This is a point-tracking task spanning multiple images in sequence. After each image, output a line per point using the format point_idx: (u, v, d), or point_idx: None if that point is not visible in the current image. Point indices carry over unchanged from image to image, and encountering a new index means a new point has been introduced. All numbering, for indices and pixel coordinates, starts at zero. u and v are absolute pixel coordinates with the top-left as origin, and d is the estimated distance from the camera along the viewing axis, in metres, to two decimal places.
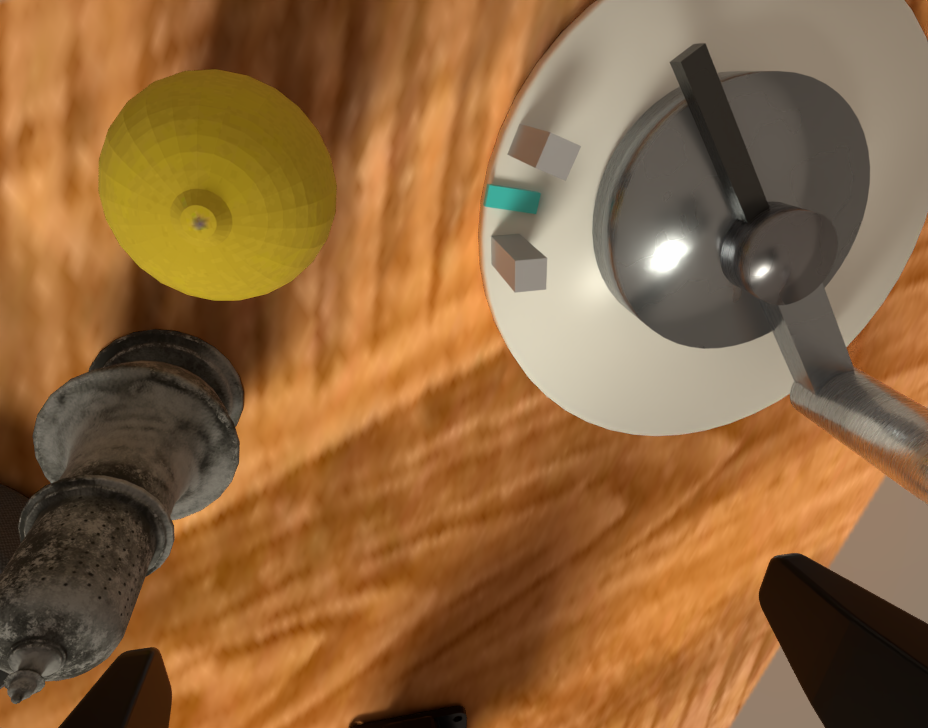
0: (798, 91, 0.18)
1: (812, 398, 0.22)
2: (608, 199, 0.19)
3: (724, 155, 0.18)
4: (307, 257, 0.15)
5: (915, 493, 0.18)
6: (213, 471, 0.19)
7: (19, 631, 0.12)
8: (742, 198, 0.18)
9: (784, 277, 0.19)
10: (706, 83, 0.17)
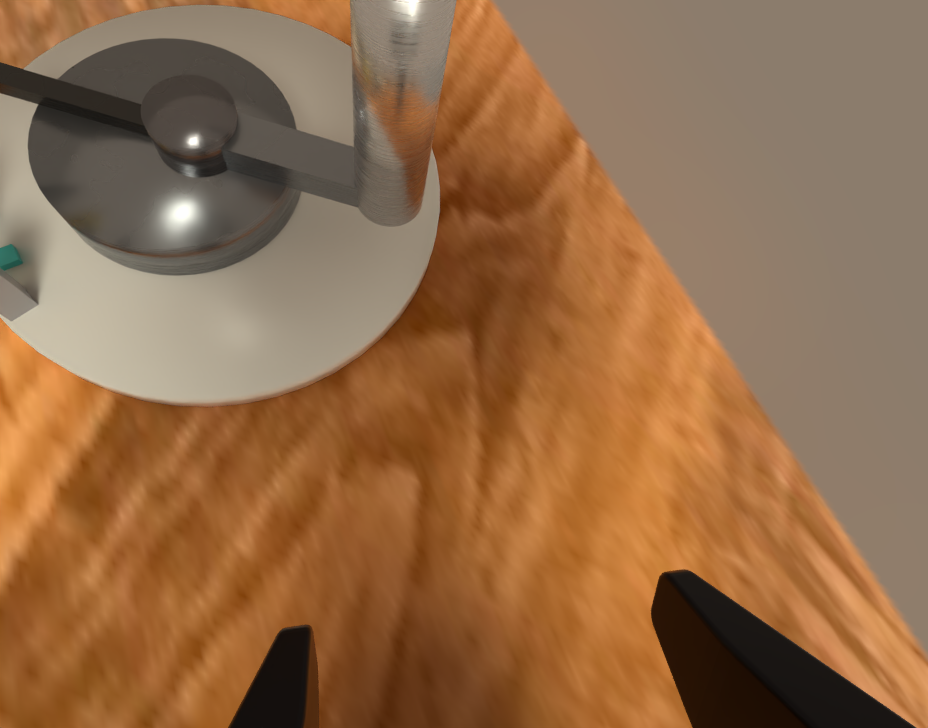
0: (124, 53, 0.22)
1: (359, 194, 0.21)
2: None
3: (82, 104, 0.20)
4: None
5: (386, 117, 0.16)
6: None
7: None
8: (127, 117, 0.21)
9: (193, 124, 0.20)
10: (21, 78, 0.20)
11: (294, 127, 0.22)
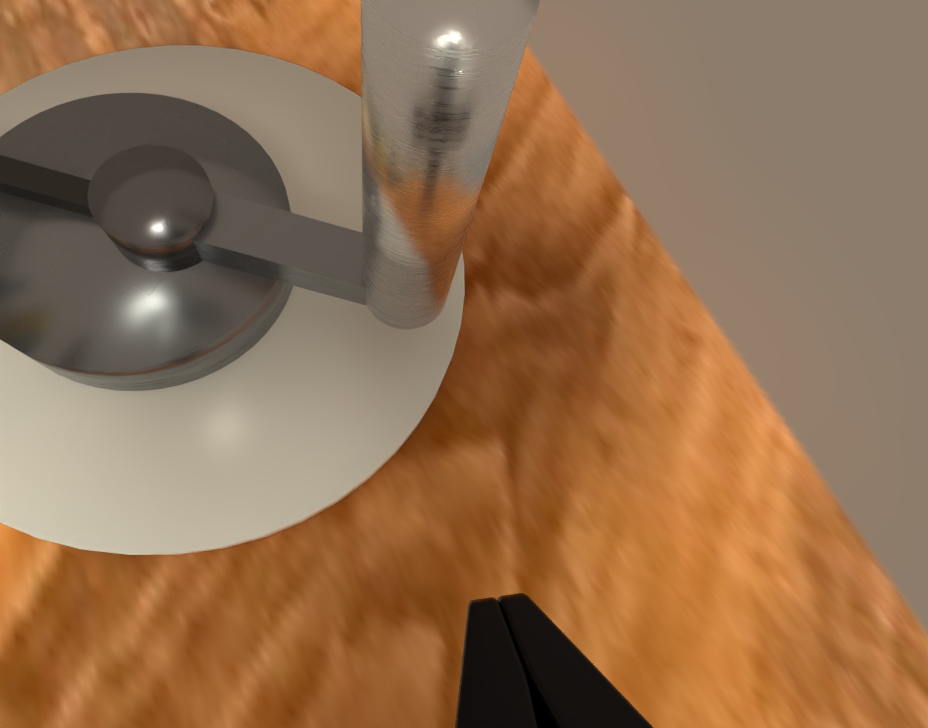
0: (74, 112, 0.18)
1: (369, 294, 0.16)
2: None
3: (15, 182, 0.16)
4: None
5: (408, 223, 0.12)
6: None
7: None
8: (73, 197, 0.16)
9: (156, 211, 0.15)
10: None
11: (286, 203, 0.18)
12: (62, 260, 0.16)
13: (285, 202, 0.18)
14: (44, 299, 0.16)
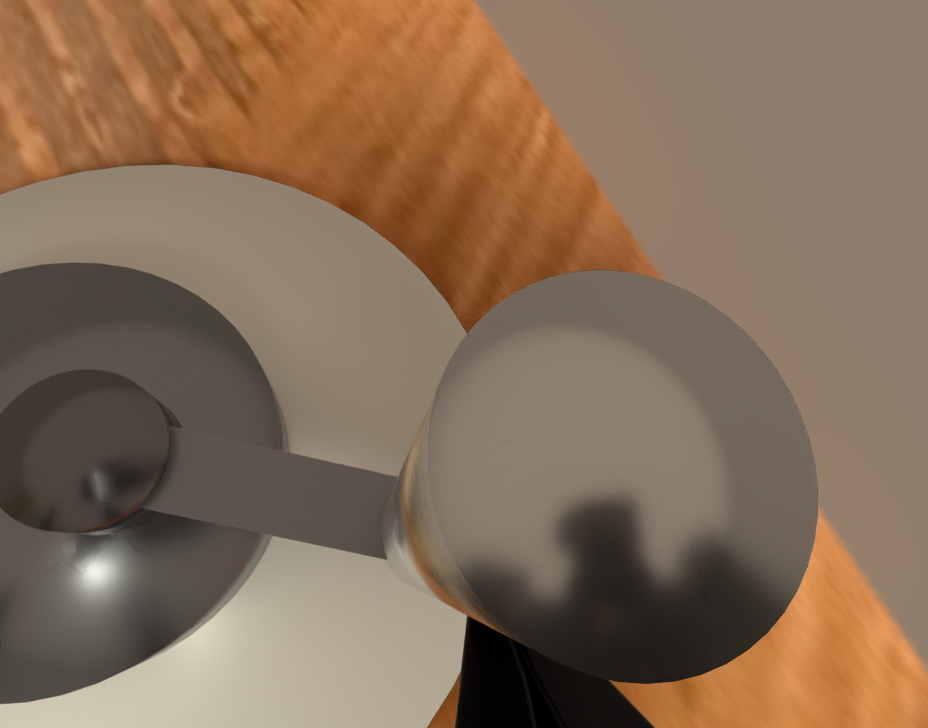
0: None
1: (391, 567, 0.12)
2: None
3: None
4: None
5: None
6: None
7: None
8: None
9: (85, 476, 0.11)
10: None
11: (273, 411, 0.13)
12: None
13: (271, 411, 0.13)
14: None
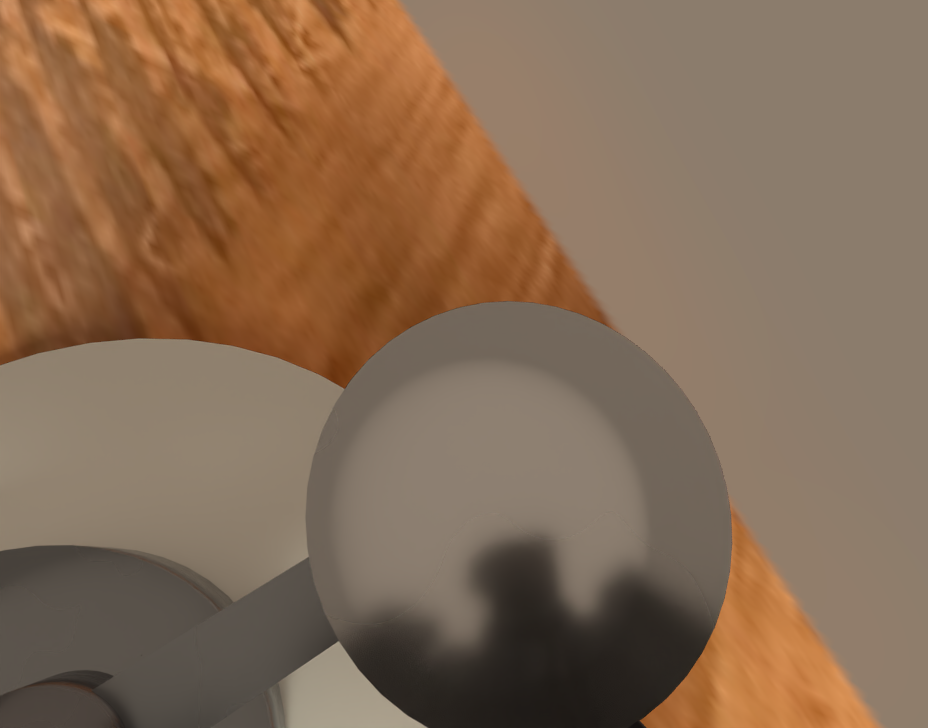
0: None
1: None
2: None
3: None
4: None
5: None
6: None
7: None
8: None
9: None
10: None
11: (178, 582, 0.12)
12: None
13: (176, 584, 0.12)
14: None
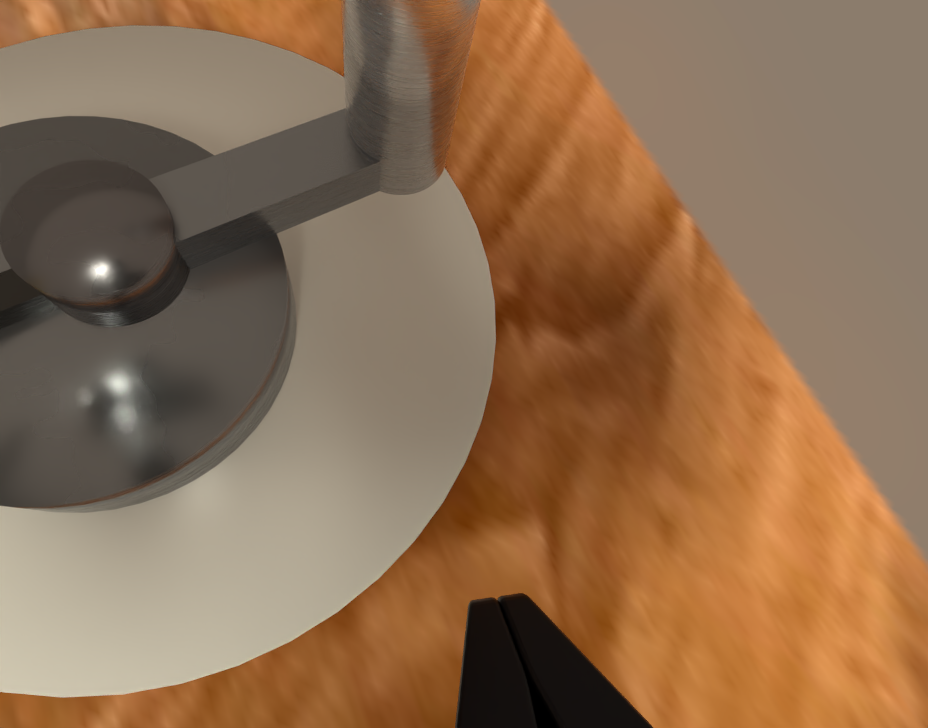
0: None
1: (387, 166, 0.14)
2: None
3: None
4: None
5: None
6: None
7: None
8: None
9: (114, 238, 0.12)
10: None
11: (209, 155, 0.14)
12: (47, 381, 0.12)
13: (208, 155, 0.14)
14: (73, 430, 0.12)
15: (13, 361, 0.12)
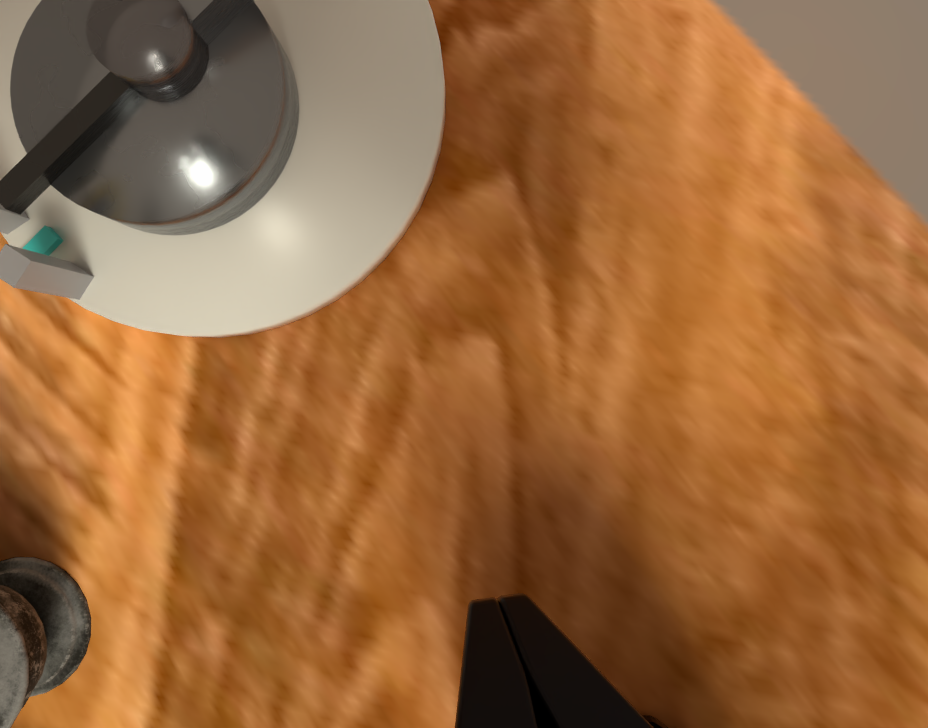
0: (23, 80, 0.19)
1: None
2: (159, 228, 0.20)
3: (72, 137, 0.19)
4: None
5: None
6: None
7: None
8: (107, 102, 0.19)
9: (153, 29, 0.18)
10: (17, 179, 0.19)
11: None
12: (155, 143, 0.19)
13: None
14: (181, 167, 0.19)
15: (132, 136, 0.19)
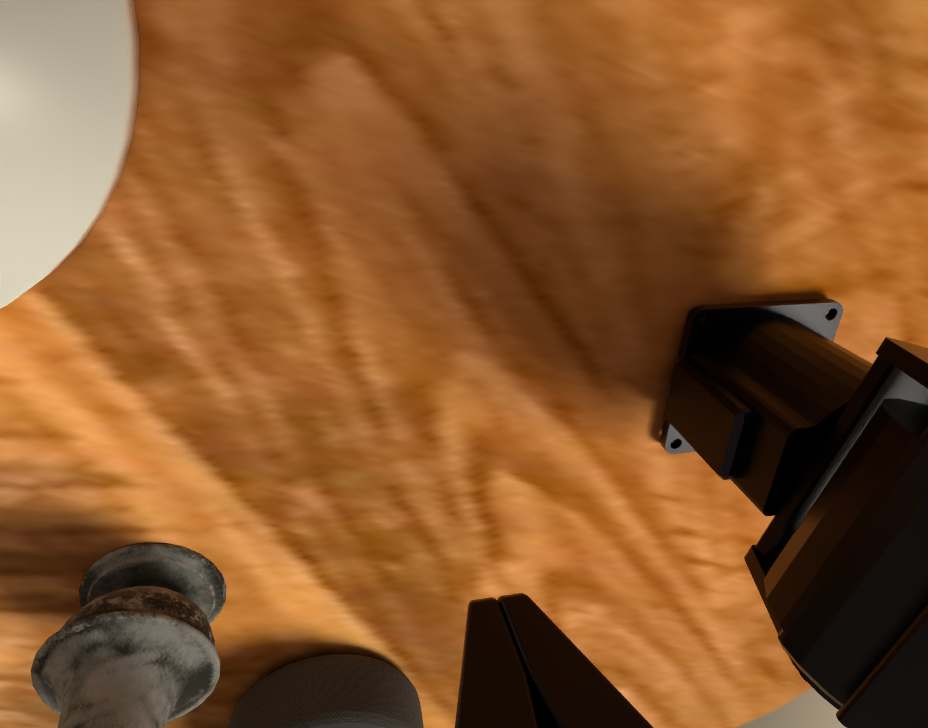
0: None
1: None
2: None
3: None
4: None
5: None
6: (141, 637, 0.19)
7: None
8: None
9: None
10: None
11: None
12: None
13: None
14: None
15: None
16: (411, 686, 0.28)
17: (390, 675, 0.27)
